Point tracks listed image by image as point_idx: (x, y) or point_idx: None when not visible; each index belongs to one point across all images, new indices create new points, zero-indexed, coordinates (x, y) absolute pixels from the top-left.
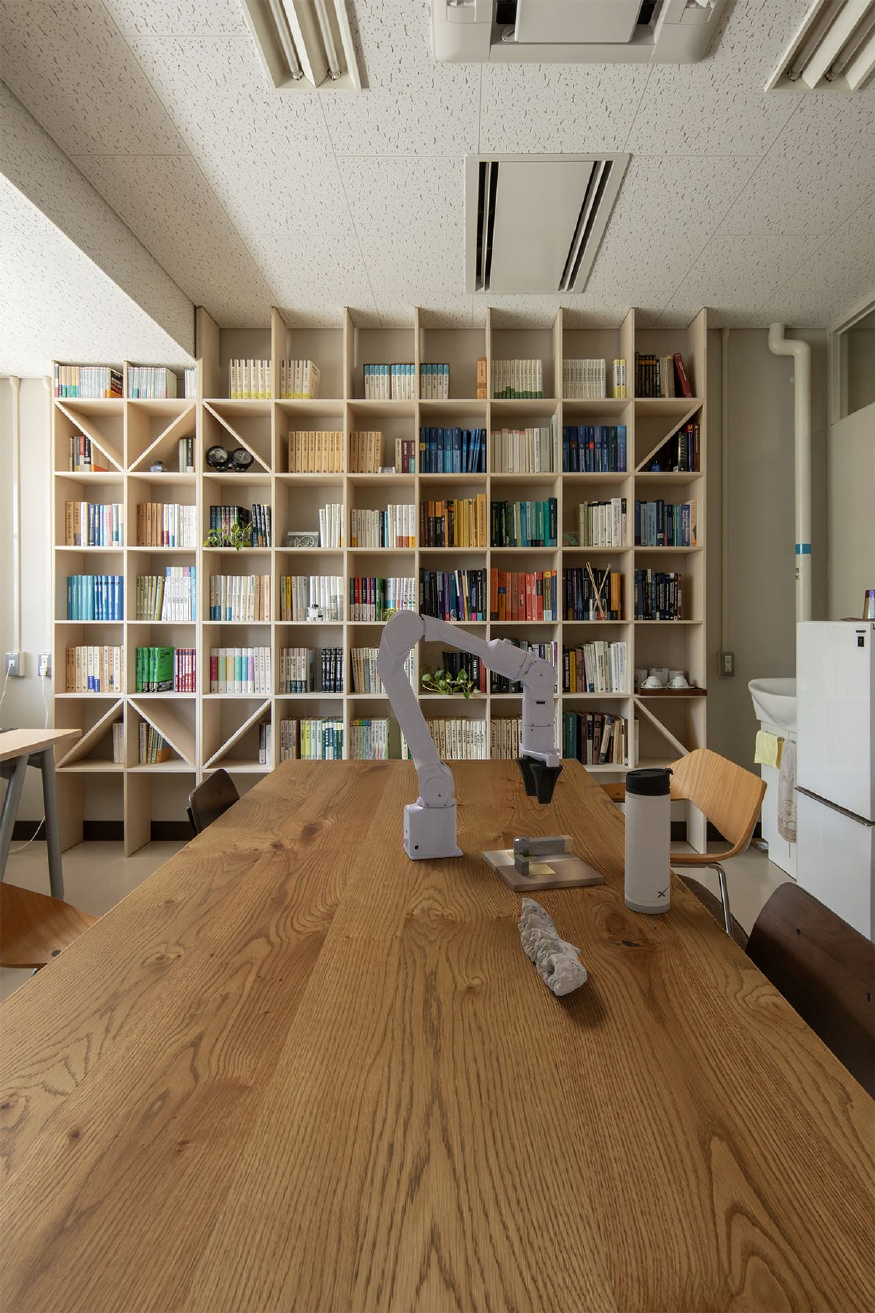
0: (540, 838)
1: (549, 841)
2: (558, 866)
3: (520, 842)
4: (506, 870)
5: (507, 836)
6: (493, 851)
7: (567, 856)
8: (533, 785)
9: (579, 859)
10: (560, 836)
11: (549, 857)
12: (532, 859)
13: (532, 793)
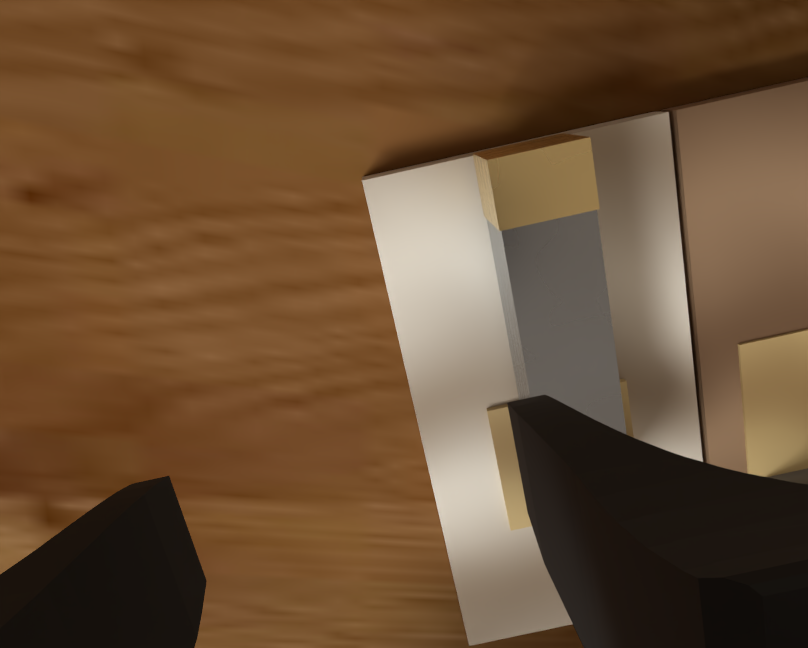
0: (556, 379)
1: (609, 323)
2: (778, 275)
3: None
4: None
5: (44, 469)
6: (469, 590)
7: (599, 182)
8: (142, 606)
9: (668, 113)
10: (516, 227)
11: None
12: (634, 403)
13: (182, 553)
